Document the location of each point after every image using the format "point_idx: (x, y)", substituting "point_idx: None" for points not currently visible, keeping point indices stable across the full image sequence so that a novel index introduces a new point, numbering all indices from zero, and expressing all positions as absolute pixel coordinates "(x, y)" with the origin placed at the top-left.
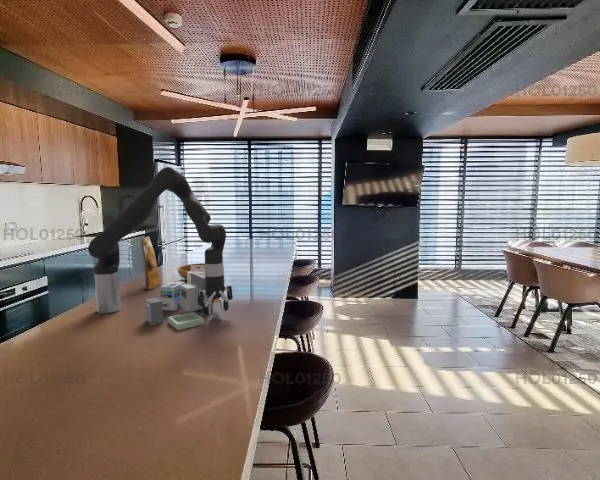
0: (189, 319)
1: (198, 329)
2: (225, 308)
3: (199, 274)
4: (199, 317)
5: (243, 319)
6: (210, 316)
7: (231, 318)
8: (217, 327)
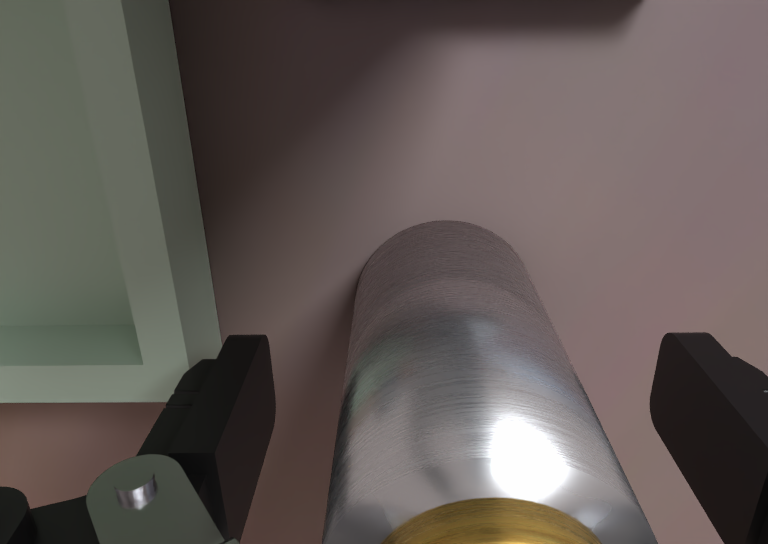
0: (22, 61)
1: (101, 468)
2: (671, 427)
3: None
4: (135, 328)
5: None
6: (353, 317)
7: (650, 390)
8: None
